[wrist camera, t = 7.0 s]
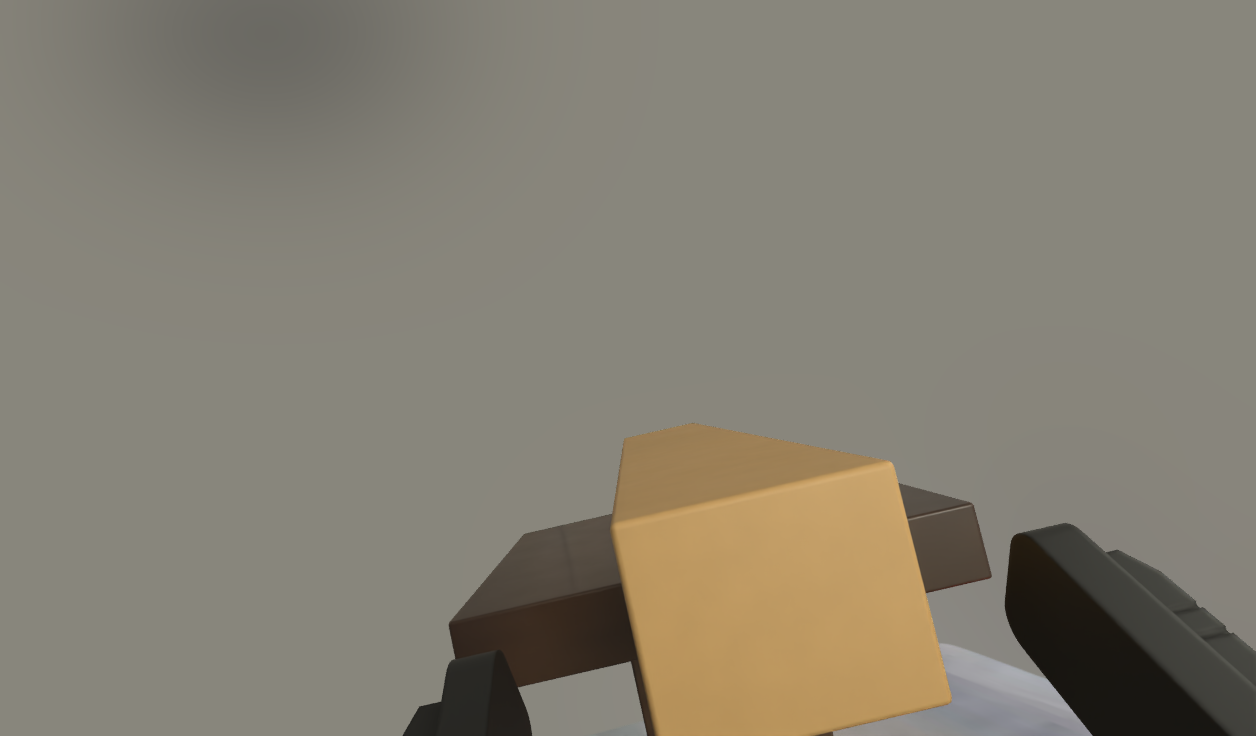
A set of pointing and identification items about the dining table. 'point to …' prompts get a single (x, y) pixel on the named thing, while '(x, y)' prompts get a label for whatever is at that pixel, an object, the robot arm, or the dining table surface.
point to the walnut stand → (595, 605)
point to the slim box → (770, 586)
